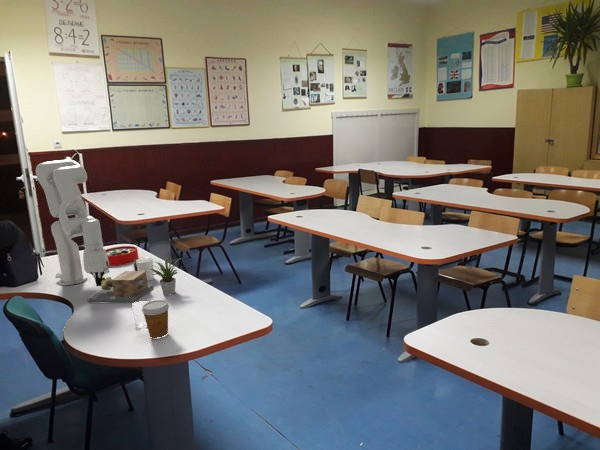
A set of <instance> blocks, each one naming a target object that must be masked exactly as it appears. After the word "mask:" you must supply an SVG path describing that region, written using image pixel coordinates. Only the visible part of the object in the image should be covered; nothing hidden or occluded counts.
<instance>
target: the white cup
mask: <svg viewBox="0 0 600 450" xmlns="http://www.w3.org/2000/svg"><path fill="white" fill-rule="evenodd" d="M153 261H154V259H153V258H152V257H142V258H138V260H136V264H137V270H138V271H146V277H147V282H149V281H152V280H154V279H155V275H153V274H155V272H154V271H152V270H150V269H154V266H153V265H154V262H153ZM154 270H155V269H154Z"/></svg>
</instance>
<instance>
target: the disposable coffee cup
mask: <svg viewBox="0 0 600 450" xmlns="http://www.w3.org/2000/svg"><path fill="white" fill-rule="evenodd" d="M169 308H170V305H169V303H168V301H166V300H161V299H156V300H151V301H148V302H146V303H144V304H143V305H142V309H141V312H142V314H143V317H144V320H145V323H146V327H147V330H148V334H149V337H152V338H157V337H162V336H164V335H166V334H167V333H168V334H169ZM152 338H151V339H152Z"/></svg>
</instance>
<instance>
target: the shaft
mask: <svg viewBox="0 0 600 450" xmlns="http://www.w3.org/2000/svg"><path fill="white" fill-rule="evenodd" d="M112 280H113V279H112V277H111V276H103V279H102V281H101V286H100V287H101V290H110V289H111V288H112V287H113V284H112ZM138 284H139V287H142V286H143V280H139V281H138Z"/></svg>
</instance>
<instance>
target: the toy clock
mask: <svg viewBox="0 0 600 450" xmlns="http://www.w3.org/2000/svg"><path fill="white" fill-rule="evenodd" d="M105 251H106V253H107V257H108V261H109V267H115V266H124V265H128V264H131V263H133V262H134V259H139V252H138V247H137V246H132V245H122V246H115V247H111V248H107V249H106V248H105Z"/></svg>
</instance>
